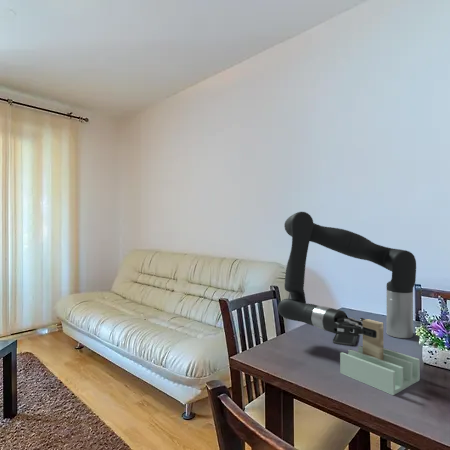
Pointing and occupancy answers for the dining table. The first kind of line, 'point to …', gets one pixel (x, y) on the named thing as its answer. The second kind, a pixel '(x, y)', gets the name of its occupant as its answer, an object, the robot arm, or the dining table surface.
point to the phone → (345, 339)
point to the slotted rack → (381, 369)
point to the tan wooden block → (373, 339)
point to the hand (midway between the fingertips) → (378, 333)
